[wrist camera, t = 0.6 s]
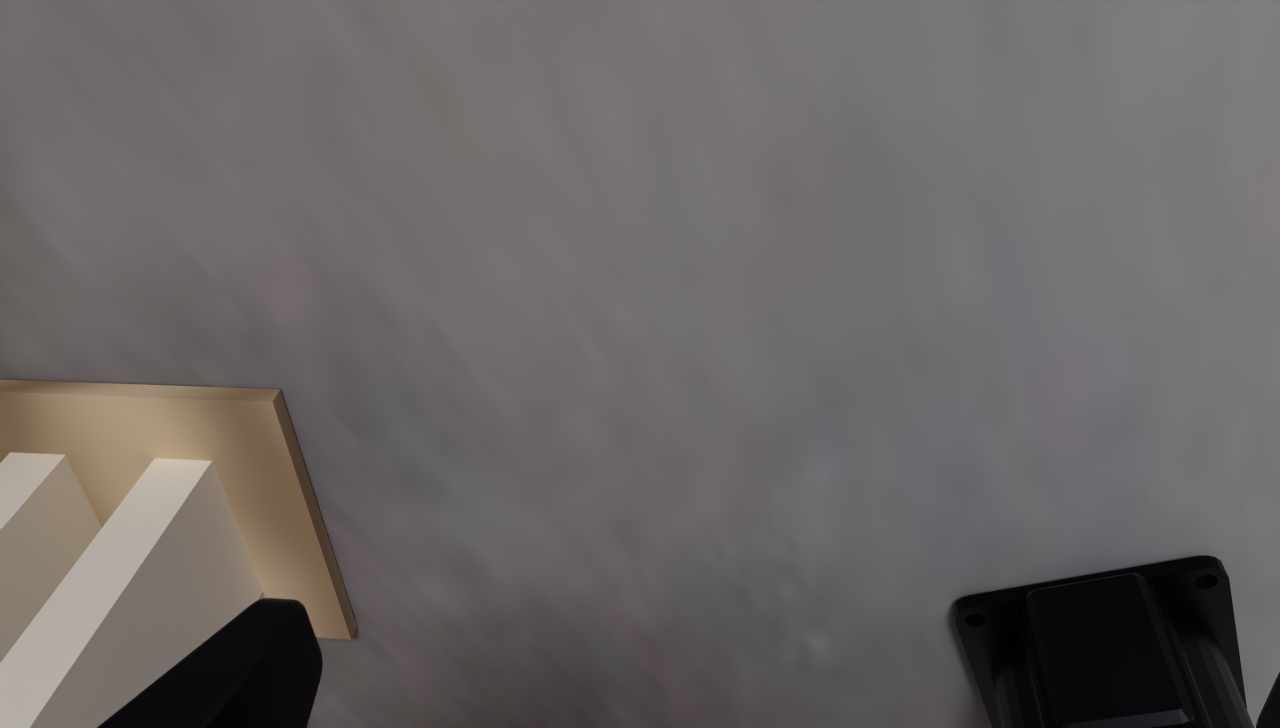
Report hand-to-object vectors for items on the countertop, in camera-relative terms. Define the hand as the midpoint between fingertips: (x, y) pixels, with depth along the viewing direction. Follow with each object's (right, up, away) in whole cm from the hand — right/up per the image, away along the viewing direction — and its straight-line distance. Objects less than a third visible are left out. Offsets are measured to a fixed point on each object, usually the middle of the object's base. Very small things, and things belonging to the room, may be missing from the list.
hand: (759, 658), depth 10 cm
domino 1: (-13, -2, +19) cm, 23 cm away
